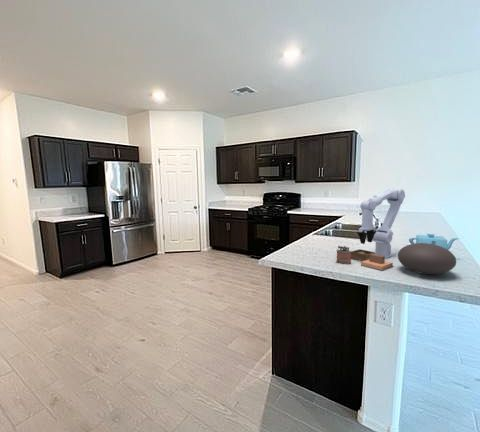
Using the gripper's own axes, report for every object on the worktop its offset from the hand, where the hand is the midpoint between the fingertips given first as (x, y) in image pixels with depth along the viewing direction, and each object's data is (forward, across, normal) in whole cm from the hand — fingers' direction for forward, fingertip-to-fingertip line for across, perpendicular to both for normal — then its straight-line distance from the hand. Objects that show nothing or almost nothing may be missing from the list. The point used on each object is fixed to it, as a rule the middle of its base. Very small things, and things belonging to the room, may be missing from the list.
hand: (366, 242), depth 160 cm
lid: (+9, +7, +11) cm, 16 cm away
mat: (+10, +7, +11) cm, 17 cm away
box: (+10, 0, -2) cm, 11 cm away
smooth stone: (+10, -2, +31) cm, 33 cm away
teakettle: (+10, -36, +22) cm, 43 cm away
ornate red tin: (+11, +16, -4) cm, 20 cm away
